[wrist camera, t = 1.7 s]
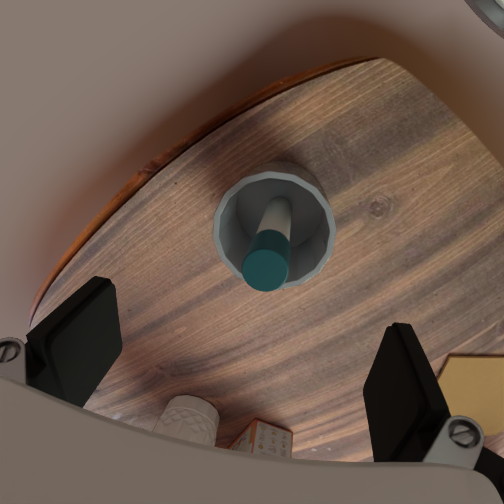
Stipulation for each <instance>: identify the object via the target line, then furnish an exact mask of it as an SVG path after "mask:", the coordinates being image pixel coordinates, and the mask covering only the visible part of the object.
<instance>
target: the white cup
mask: <svg viewBox="0 0 504 504" xmlns="http://www.w3.org/2000/svg"><path fill="white" fill-rule="evenodd" d="M219 420H220V418H219V415H218V411H217V410H216V409H215V408H214V407H213V406H212V405H211V404H210V403H209V402H207V401H205V400H203V399H201V398H199V397H195V396H190V395H181V396H176V397H174V398H173V399H171V400H170V401H169V403H168V405H167V407H166V409H165V411H164V413H163V414H162V416H161V417H160V418H159V420H158V422H157V424H156V426H155V427H154V429H153V431H152V432H155V433H159V434H162V435H166V436H170V437H174V438H178V439H182V440H186V441H190V442H195V443H199V444H204V445H208V446H213V447H214V446H215V442H216V432H217V428H218V424H219Z"/></svg>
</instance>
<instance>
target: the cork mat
mask: <svg viewBox="0 0 504 504" xmlns="http://www.w3.org/2000/svg"><path fill="white" fill-rule="evenodd" d="M437 381H438V383H439V386H440V388H441V390H442V393H443V395H444V397H445V400H446V402H447V405H448V407H449V411H450V414H451V416H456V415H462V416H467V417H469V418H472V419H473V420H475V421H476V422H477V423H478V424H479V425H480V426H481V428H482V430H483V432H484V436H489V435H495V434H500V433H501V432H502V431H503V429H504V356H452V355H449V357H448V359H447V361H446V363H445V365H444V367H443V369H442V371H441V373H440V374H439V376H438V378H437Z"/></svg>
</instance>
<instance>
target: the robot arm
mask: <svg viewBox="0 0 504 504" xmlns="http://www.w3.org/2000/svg"><path fill="white" fill-rule="evenodd" d="M495 1H496V2H497V3H498V4H499V5H500V6H501V7H502V8H503V9H504V0H495ZM26 337H27V340H28V342H27V343H26V344H24V343H23V342H22V341H21V340H19V339H18V338H13V337H8V338H3V339H0V504H504V458H502V457H501V456H499V455H497V454H495V453H494V452H492V451H490V450H489V449H487V448H485V447H484V446H483V444H484V439H485V437H484V432H483V430H482V428H481V426H480V425H479V424H478V423H477V422H476V421H475V420H473V419H472V418H469V417H467V416H462V415H456V416H451V414H450V411H449V407H448V405H447V402H446V400H445V397H444V395H443V393H442V390H441V388H440V386H439V383H438V381H437V379H436V377H435V374H434V372H433V370H432V368H431V366H430V363H429V361H428V359H427V357H426V355H425V353H424V351H423V348H422V346H421V344H420V342H419V340H418V338H417V336H416V334H415V332H414V330H413V328H412V326H411V325H410V324H406V323H396V322H395V323H393V324H392V326H388V327H387V328H386V331H385V333H384V336H383V339H382V342H381V344H380V347H379V350H378V352H377V355H376V357H375V360H374V362H373V365H372V367H371V370H370V372H369V375H368V377H367V379H366V382H365V384H364V388H363V396H364V402H365V407H366V413H367V419H368V425H369V431H370V437H371V444H372V450H373V457H374V462H339V461H319V460H305V459H294V458H284V457H275V456H268V455H260V454H253V453H247V452H241V451H235V450H229V449H224V448H218V447H213V446H208V445H204V444H199V443H195V442H190V441H186V440H182V439H178V438H174V437H170V436H166V435H162V434H159V433H155V432H152V431H148V430H145V429H141V428H138V427H135V426H132V425H128V424H125V423H122V422H119V421H116V420H113V419H110V418H107V417H105V416H102V415H99V414H96V413H94V412H91V411H88V410H86V409H83V406H84V405H85V403H86V402H87V401H88V399H89V398H90V396H91V395H92V393H93V392H94V390H95V389H96V388H97V386H98V385H99V383H100V382H101V380H102V379H103V378H104V376H105V375H106V373H107V372H108V370H109V369H110V368H111V366H112V365H113V363H114V362H115V361H116V359H117V358H118V356H119V355H120V353H121V351H122V338H121V331H120V324H119V316H118V307H117V298H116V288H115V285H114V284H112V282H111V280H110V279H108V278H103V277H98V276H94V277H93V278H91V279H90V280H89V281H88V282H87V283H85V284H84V285H83V286H82V287H81V288H79V289H78V290H77V291H76V292H75V293H73V294H72V295H71V296H70V297H69V298H68V299H66V300H65V301H64V302H63V303H62V304H61V305H59V306H58V307H57V308H56V309H55V310H54V311H53V312H51V313H50V314H49V315H48V316H47V317H46V318H45V319H43V320H42V321H41V322H40V323H39V324H38V325H37V326H36V327H35V328H33V329H32V330H31V331H30V332H29V333H28V334H27V335H26Z"/></svg>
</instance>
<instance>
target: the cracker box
mask: <svg viewBox="0 0 504 504" xmlns="http://www.w3.org/2000/svg"><path fill="white" fill-rule="evenodd" d="M292 444H293V432H290V431H288V430H284V429H282V428H279V427H276V426H273V425H271V424H268V423H266V422H263V421H260V420H258V419H254V420H253V421H252V422H251V424H250V425H249V426H248V427H247V428H246V429H245V430H244V431H243V432H242V433H241V434H240V435H239V436H238V437H237V438H236V439H235V441H234V442H233V443H232V444H231V445H230V446H229V447H228V448H227V449H229V450H235V451H241V452H247V453H253V454H260V455H268V456H275V457H284V458H292Z"/></svg>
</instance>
